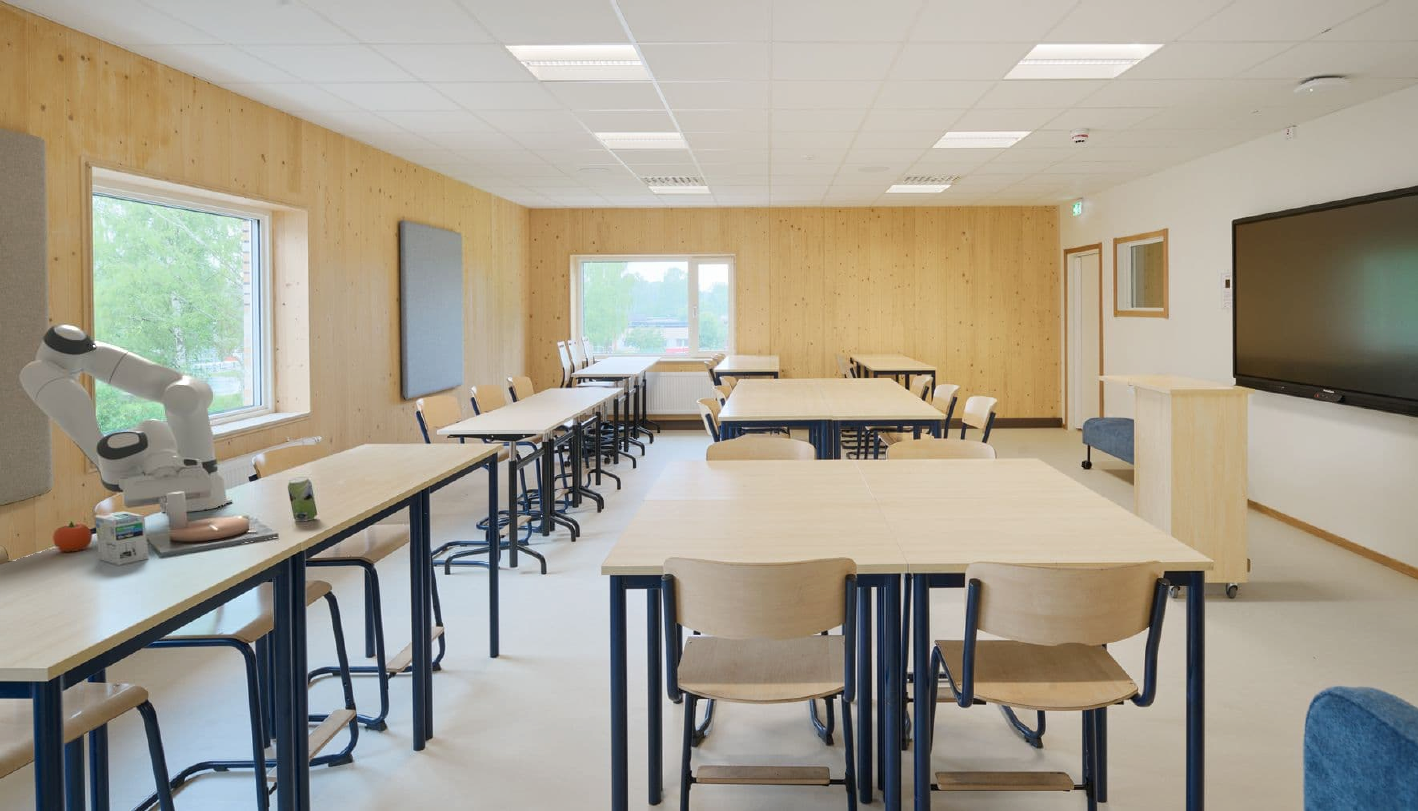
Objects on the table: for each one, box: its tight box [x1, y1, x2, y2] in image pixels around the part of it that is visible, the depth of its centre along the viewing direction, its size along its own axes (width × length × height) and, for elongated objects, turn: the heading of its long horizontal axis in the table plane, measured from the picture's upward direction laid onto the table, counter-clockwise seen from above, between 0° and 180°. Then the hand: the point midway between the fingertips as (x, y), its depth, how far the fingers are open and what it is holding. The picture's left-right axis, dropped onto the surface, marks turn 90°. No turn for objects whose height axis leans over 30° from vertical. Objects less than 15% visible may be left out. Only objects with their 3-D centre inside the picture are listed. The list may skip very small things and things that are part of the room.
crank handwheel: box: [166, 492, 249, 541], centre depth 231 cm, size 18×18×11 cm
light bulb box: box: [94, 510, 149, 566], centre depth 213 cm, size 11×7×11 cm, turn 56°
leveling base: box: [146, 514, 279, 559], centre depth 232 cm, size 26×26×3 cm
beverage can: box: [287, 476, 318, 522], centre depth 250 cm, size 6×7×12 cm
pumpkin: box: [52, 521, 93, 553], centre depth 223 cm, size 8×8×7 cm
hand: (173, 513), depth 231 cm, fingers closed
